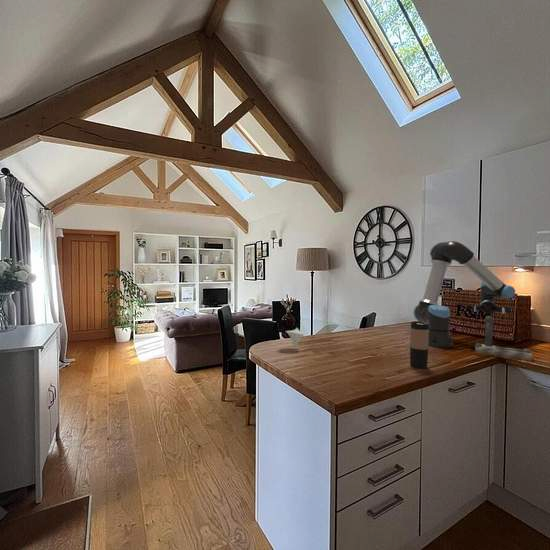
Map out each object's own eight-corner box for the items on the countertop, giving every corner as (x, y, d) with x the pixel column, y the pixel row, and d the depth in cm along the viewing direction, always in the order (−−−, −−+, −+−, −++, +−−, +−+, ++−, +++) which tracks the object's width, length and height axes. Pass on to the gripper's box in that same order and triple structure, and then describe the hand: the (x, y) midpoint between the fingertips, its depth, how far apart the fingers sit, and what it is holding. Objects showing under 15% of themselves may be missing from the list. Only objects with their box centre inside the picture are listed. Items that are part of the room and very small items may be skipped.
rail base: (475, 353, 168) (475, 345, 168) (475, 349, 178) (475, 341, 178) (532, 361, 155) (532, 352, 155) (528, 356, 165) (529, 347, 165)
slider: (481, 350, 169) (482, 315, 169) (481, 348, 173) (482, 314, 173) (495, 352, 166) (496, 317, 165) (494, 350, 170) (495, 315, 170)
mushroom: (293, 346, 177) (294, 325, 177) (308, 349, 169) (308, 327, 169) (280, 349, 170) (281, 327, 169) (295, 353, 162) (296, 330, 162)
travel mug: (408, 366, 142) (410, 323, 142) (410, 362, 149) (411, 321, 149) (427, 369, 139) (428, 325, 138) (428, 365, 145) (429, 322, 145)
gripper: (512, 314, 189) (516, 318, 171) (464, 311, 202) (463, 314, 184) (512, 302, 188) (516, 305, 171) (464, 299, 202) (463, 302, 184)
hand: (489, 310), depth 177 cm, fingers open, 13 cm apart
